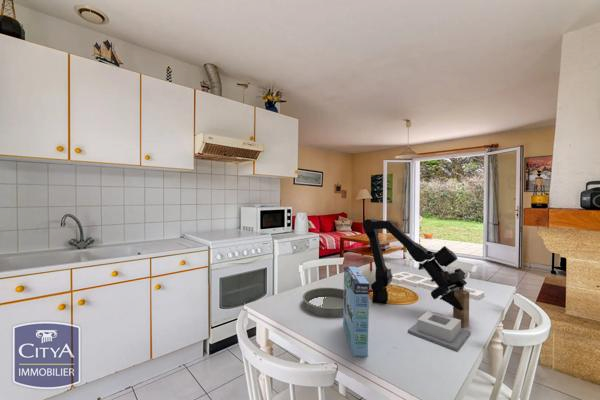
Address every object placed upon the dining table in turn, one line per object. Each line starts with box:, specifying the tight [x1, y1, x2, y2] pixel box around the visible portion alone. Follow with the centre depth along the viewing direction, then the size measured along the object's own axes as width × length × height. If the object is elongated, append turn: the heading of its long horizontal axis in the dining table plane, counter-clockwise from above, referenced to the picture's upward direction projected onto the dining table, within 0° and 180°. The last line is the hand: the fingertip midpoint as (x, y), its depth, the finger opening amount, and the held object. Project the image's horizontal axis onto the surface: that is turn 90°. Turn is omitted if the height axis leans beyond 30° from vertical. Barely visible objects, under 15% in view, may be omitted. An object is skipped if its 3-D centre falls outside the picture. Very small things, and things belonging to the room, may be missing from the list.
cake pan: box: [302, 287, 344, 317], centre depth 119 cm, size 25×25×4 cm
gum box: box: [342, 266, 370, 358], centre depth 90 cm, size 20×5×23 cm, turn 0°
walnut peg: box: [452, 289, 470, 329], centre depth 102 cm, size 4×4×13 cm
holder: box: [391, 271, 485, 301], centre depth 144 cm, size 45×18×3 cm, turn 36°
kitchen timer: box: [361, 259, 376, 292], centre depth 142 cm, size 14×14×15 cm
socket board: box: [407, 310, 472, 352], centre depth 95 cm, size 16×16×5 cm
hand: (465, 308), depth 101 cm, fingers open, 5 cm apart
